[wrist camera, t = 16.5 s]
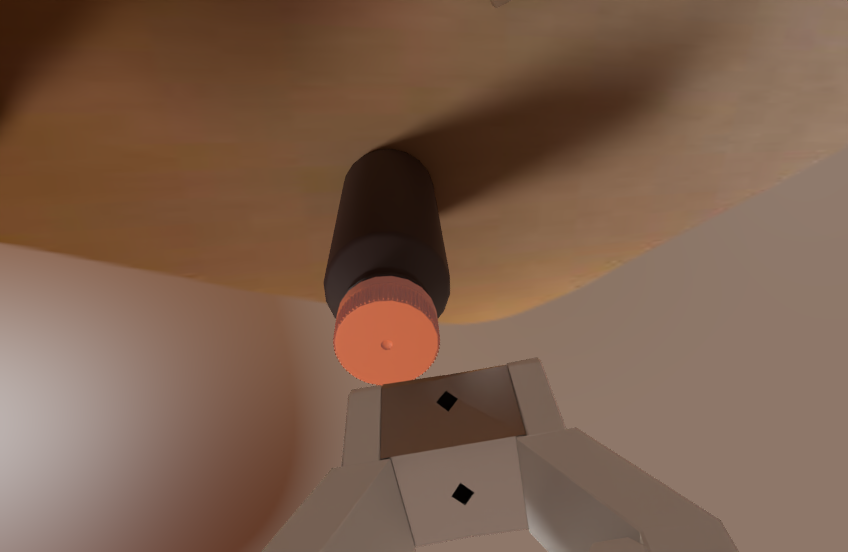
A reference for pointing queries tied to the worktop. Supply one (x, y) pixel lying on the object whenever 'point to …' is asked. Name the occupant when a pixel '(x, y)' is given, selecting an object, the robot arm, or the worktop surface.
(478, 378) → the robot arm
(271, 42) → the worktop surface
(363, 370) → the vinegar
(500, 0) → the brown wooden shelf tower
